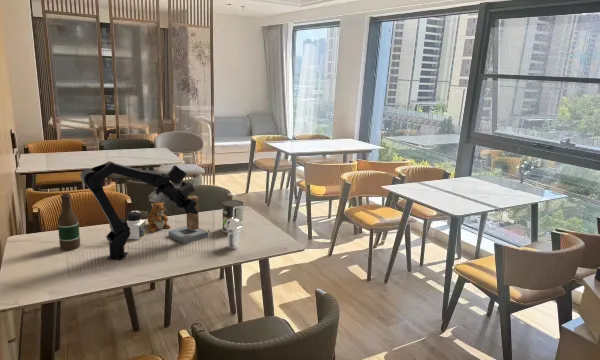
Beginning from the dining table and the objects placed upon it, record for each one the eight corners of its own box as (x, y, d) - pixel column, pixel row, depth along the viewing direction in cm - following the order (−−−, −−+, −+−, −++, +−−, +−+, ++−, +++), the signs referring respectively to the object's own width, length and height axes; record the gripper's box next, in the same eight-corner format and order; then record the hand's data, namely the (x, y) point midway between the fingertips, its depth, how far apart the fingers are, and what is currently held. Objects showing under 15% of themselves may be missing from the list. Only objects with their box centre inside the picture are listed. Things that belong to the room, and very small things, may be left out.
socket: (183, 243, 192) (183, 238, 192) (168, 235, 201) (168, 230, 200) (207, 236, 202) (207, 231, 201) (192, 229, 210) (192, 224, 210)
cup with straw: (232, 241, 198) (232, 200, 192) (247, 246, 193) (248, 204, 188) (220, 247, 190) (220, 205, 185) (235, 252, 186) (236, 209, 181)
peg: (190, 230, 193) (189, 198, 189) (186, 227, 196) (186, 196, 192) (198, 228, 195) (198, 197, 192) (195, 226, 198) (194, 195, 195)
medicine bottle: (140, 239, 195) (138, 215, 192) (124, 239, 195) (123, 214, 192) (145, 234, 202) (144, 210, 199) (130, 233, 202) (129, 209, 199)
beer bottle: (72, 252, 179) (66, 197, 173) (56, 249, 181) (50, 195, 175) (84, 245, 187) (80, 192, 181) (69, 242, 188) (64, 190, 182)
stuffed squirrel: (152, 233, 203) (150, 207, 200) (142, 224, 214) (141, 199, 210) (172, 229, 209) (171, 204, 206) (161, 220, 220) (160, 196, 216)
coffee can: (225, 234, 205) (225, 207, 202) (220, 227, 214) (220, 200, 211) (245, 232, 210) (246, 205, 206) (239, 225, 219) (240, 199, 215)
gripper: (192, 183, 180) (215, 203, 190) (175, 173, 194) (197, 193, 204) (174, 203, 177) (199, 223, 187) (158, 192, 192) (182, 211, 201)
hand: (195, 212), depth 195 cm, fingers closed on peg, 4 cm apart
